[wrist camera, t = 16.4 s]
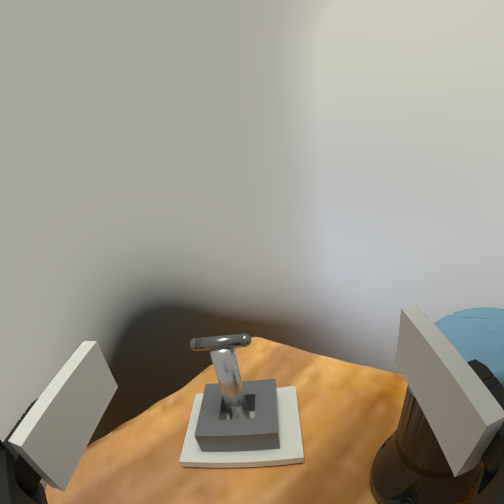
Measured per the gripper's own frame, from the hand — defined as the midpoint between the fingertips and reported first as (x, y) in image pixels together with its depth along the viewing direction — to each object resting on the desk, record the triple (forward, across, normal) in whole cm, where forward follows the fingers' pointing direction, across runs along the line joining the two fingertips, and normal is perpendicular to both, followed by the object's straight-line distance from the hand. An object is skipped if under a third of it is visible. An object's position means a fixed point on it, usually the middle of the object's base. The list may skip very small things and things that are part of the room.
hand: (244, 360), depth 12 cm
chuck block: (+21, -6, -30) cm, 37 cm away
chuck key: (+21, -6, -28) cm, 36 cm away
